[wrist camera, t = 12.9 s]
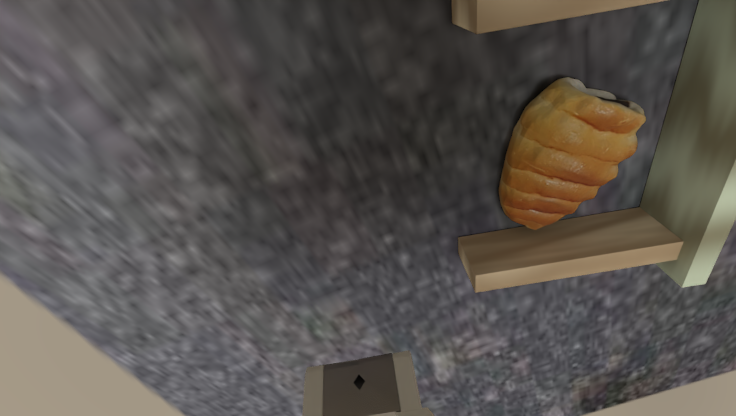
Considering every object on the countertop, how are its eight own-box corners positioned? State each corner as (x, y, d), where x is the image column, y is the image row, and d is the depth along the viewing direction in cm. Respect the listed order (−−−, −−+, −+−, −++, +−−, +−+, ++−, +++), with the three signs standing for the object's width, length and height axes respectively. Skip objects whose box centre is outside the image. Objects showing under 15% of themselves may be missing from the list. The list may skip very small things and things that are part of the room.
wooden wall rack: (450, -47, 18) (486, -53, 13) (759, -103, 17) (895, -127, 13) (458, 268, 28) (480, 320, 24) (649, 237, 28) (705, 283, 24)
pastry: (555, 221, 27) (584, 255, 24) (469, 204, 26) (488, 237, 23) (635, 95, 22) (685, 115, 19) (535, 65, 21) (571, 82, 18)
